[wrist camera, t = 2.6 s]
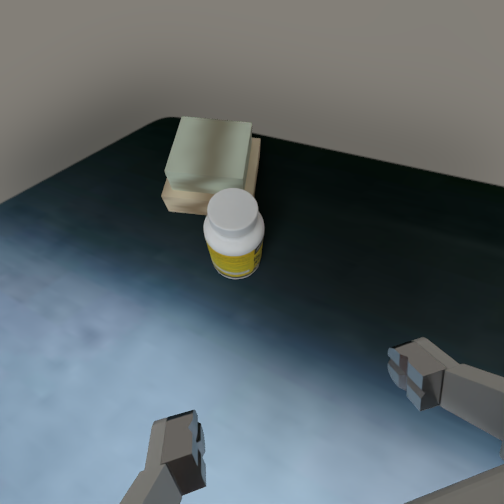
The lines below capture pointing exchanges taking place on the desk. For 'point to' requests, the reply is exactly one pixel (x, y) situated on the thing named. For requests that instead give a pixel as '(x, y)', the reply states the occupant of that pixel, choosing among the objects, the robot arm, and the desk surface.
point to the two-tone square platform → (209, 162)
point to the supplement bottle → (234, 233)
